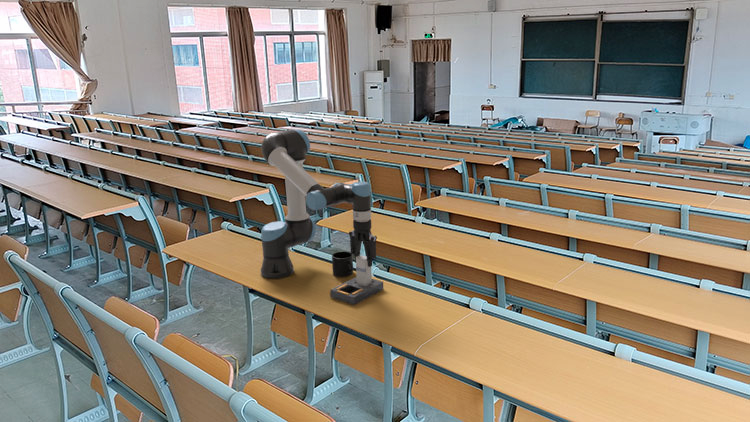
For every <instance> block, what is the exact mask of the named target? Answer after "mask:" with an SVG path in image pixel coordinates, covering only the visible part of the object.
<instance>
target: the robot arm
mask: <svg viewBox="0 0 750 422" xmlns="http://www.w3.org/2000/svg"><path fill="white" fill-rule="evenodd" d="M260 149H261V155H262V157H263V158H264V160H265V161H266V163H268V164H269V165H270V166H272V167H275V168H276V169H277V170H278V171H279V172H280V173H281V174H282V175H284V181H285V193H286V194H285V196H286V204H287V206H286V207H287V214H286V215H285V217H284V221H279V220H277V221H272V222H269V223H267V224H265V225H264V226H262V228H261V231H260V235H261V236H260V238H261V245H262V258H263V259H262V263H261V267H260V275H261V277H263V278H265V279H269V280H270V279H272V280H274V279H276V280H278V279H283V278H286V277H289V276H292V274H293V273H295V270H294V265H293V262H292V260H291V257H290V252H289V249H290V248H291V249H292V248H294V247H296V246H299V245H304V244H306V243H308V242H310V241H312V240H313V239H314V238H315V236H316V231H317V227H316V224H315V223H314V220H313V218H312V217H311V216H310V214H309V213H308V212H307V207H308V208H309V209H310V210H312V211H317V210H322V209H325V208H328V207H329V208H330V207H332V206H335V205H339V204H342V203H347V204H351V205H352V219H353V220H352V225H353V226H352V228H353V230H351V231H349V232H348V235H349V243H350V253H351V254H352V255H353V257H354V263H355V264H356V258H358V257H360V256H362V255H361V249H362V244H363V246H364V251H365V256H366V257H367V259H366V260H365V261H366V274H369V273H371V274H372V267H373V260H375V259H376V258H377V238H378V237H377V235H373V234H372V231H371V230H372V206H371V205H372V200H371V199H372V197H371V196H372V195H371V194H372V192H371V184H370V183H369V182H367V181H354V182H353V183H352V184H347V183H345V182H335V183H334V184H333V185H331V186H329V187H326V188H324V186H322V185H321V184H320V183H319V182H318V181H317V180H316V179H315V178H314V177H312V175H310V174H309V173H308V172H307V171H306V170H305V169H304V162H305V161H306V160H307V158H306V154H308V153H309V152H310V149H311V143H310V139H309V136H308V135H307V134H306V133H305V131H303V130H302V129H290V130H289V129H288V130H284V131H277V132H276V131H275V132H271V133H269V134H268V135H266V136H265V137H264V138H263V140H262V142H261V148H260Z"/></svg>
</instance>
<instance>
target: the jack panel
mask: <svg viewBox="0 0 750 422" xmlns="http://www.w3.org/2000/svg"><path fill="white" fill-rule="evenodd" d="M383 290H384V281H381V280H378V279H375V278H372V283H371V284H369V285H367V286H363V285H359V284H357V276H355V277H354V278H351V279H350V280H347V281H345V282H343V283H341V284H339V285H337V286H334V287H333V288H330V298H332V299H335V300H337V301H339V302H344V303H347V304H349V305H352V306H357V305H358V304H359V303H362V302H363V301H365V300H367V299H368V298H370V297H373V296H374V295H376V294H379V292H382V291H383Z"/></svg>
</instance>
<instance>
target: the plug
mask: <svg viewBox="0 0 750 422" xmlns="http://www.w3.org/2000/svg"><path fill="white" fill-rule="evenodd" d="M366 259H367V257H366V255H364V254H363V255H361V256H360V257H358V258H356V263H355V272H356V273H355V274H356V276H355V277H357V284H359V285H363V286H367V285H369V284H371V283H372V279H373V278H372V272H371V273H369V274H366V261H365V260H366Z"/></svg>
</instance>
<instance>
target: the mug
mask: <svg viewBox="0 0 750 422" xmlns="http://www.w3.org/2000/svg"><path fill="white" fill-rule="evenodd" d="M353 257H354V254H351V251H336V252H334V253H333V254H331V262H332V274H333V276H334V277H337V278H347V277H349V276H352V275H353V274H354V258H353Z"/></svg>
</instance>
